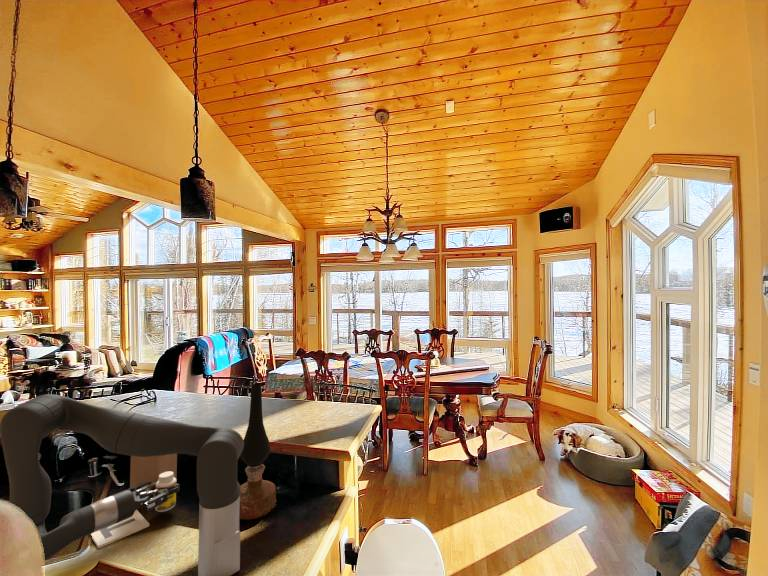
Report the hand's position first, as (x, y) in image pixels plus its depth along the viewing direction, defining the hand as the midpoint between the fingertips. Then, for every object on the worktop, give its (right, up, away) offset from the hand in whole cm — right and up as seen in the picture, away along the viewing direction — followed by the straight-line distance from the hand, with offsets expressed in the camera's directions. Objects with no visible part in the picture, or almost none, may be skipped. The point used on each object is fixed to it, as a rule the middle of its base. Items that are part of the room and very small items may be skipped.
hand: (174, 484), depth 112 cm
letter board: (-11, -8, -9) cm, 16 cm away
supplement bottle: (-1, -6, -2) cm, 7 cm away
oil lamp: (+25, -9, +2) cm, 26 cm away
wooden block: (-14, -9, +11) cm, 20 cm away
